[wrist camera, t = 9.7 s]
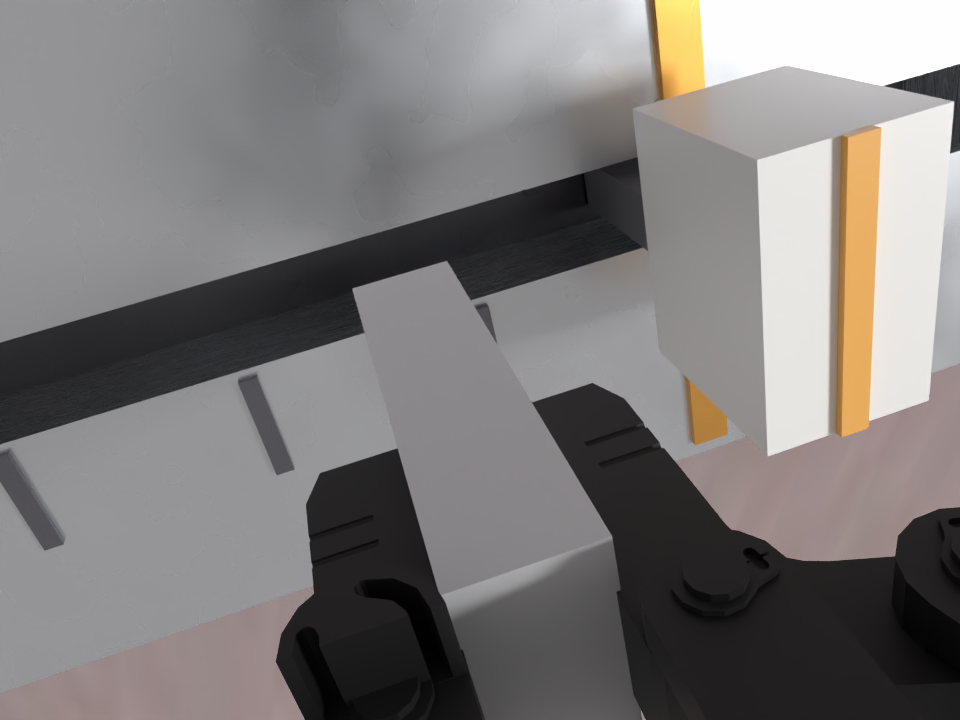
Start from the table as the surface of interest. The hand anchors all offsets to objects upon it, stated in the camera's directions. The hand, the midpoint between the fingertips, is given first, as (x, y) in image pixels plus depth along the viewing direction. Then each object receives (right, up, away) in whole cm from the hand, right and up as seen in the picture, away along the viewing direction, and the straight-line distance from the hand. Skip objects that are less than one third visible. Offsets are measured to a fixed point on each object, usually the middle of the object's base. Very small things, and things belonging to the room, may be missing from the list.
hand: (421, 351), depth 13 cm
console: (0, +3, +6) cm, 7 cm away
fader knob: (+4, +4, +7) cm, 9 cm away
